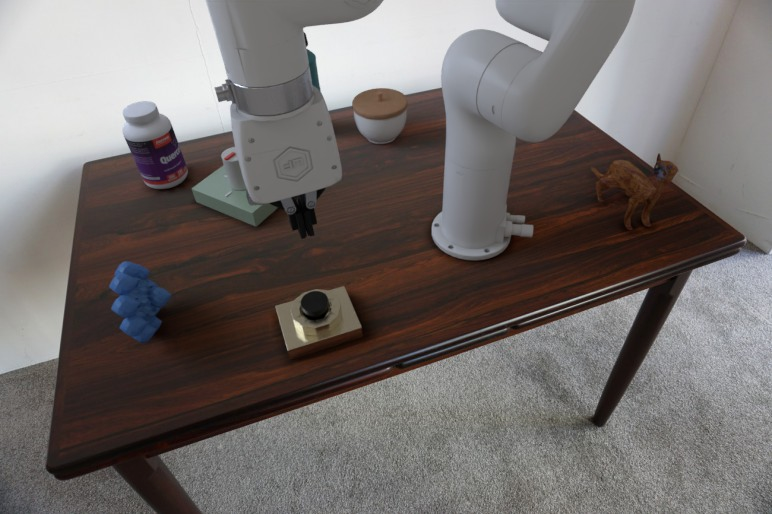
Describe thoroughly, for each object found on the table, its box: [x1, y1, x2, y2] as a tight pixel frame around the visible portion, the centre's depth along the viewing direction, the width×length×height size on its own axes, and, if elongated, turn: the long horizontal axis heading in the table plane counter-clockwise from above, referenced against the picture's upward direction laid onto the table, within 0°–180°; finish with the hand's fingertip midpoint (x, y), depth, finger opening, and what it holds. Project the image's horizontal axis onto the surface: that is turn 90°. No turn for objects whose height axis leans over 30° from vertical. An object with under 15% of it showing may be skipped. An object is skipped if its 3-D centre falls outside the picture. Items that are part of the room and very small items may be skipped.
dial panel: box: [191, 164, 279, 228], centre depth 92 cm, size 14×11×3 cm
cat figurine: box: [590, 153, 679, 231], centre depth 83 cm, size 18×7×14 cm, turn 13°
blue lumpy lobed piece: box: [108, 260, 172, 344], centre depth 68 cm, size 12×7×12 cm, turn 14°
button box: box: [274, 285, 364, 361], centre depth 70 cm, size 10×8×4 cm
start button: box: [301, 291, 330, 320], centre depth 69 cm, size 4×4×2 cm
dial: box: [220, 146, 246, 190], centre depth 89 cm, size 4×4×6 cm
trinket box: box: [351, 87, 409, 145], centre depth 103 cm, size 11×11×9 cm
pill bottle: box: [121, 100, 189, 190], centre depth 93 cm, size 8×8×14 cm
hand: (304, 229), depth 62 cm, fingers closed
